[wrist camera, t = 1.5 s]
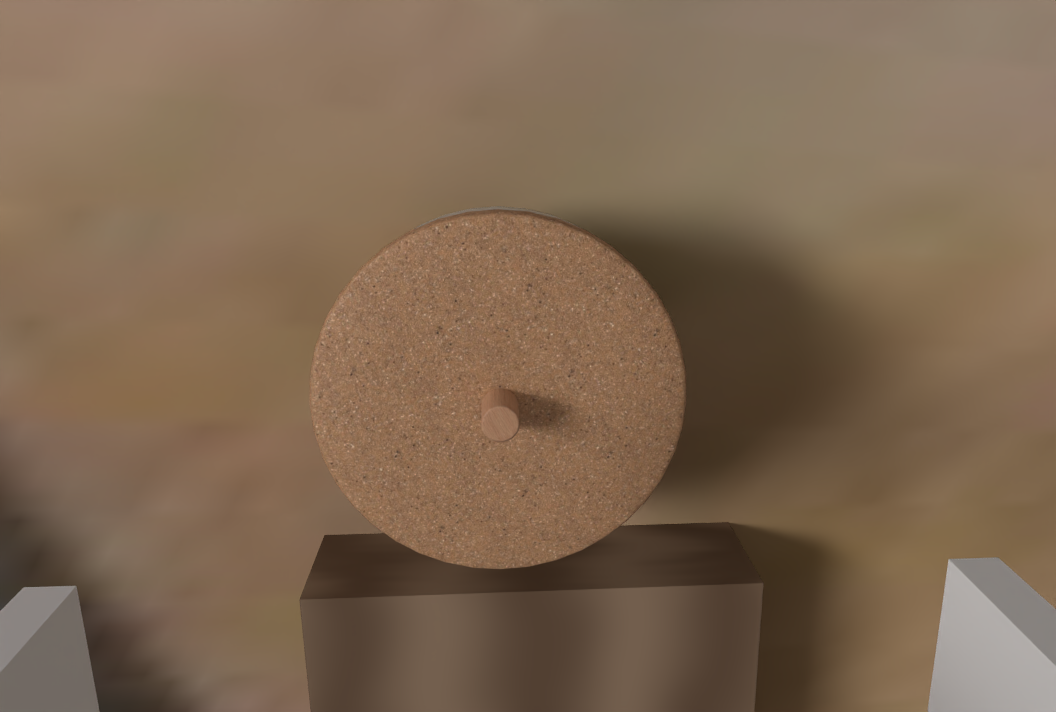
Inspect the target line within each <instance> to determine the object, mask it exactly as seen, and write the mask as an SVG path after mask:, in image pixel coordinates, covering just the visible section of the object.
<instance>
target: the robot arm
mask: <svg viewBox="0 0 1056 712" xmlns="http://www.w3.org/2000/svg"><path fill="white" fill-rule="evenodd" d="M0 712H99V707H98V701H97V696H96V690H95V685H94V679H93V674H92V669H91V663H90V658H89V652H88V647H87V641H86V636H85V631H84V625H83V620H82V614H81V609H80V603H79V598H78V593H77V587H76V586H57V587H25V588H23V589H22V590H21V591H20V592H19V593H18V594H17V595H16V596H15V597H14V598H13V599H12V600H11V601H10V602H9V603H8V604H7V605H6V606H5V607H4V608H3V609H2V610H1V611H0ZM928 712H1056V609H1055V608H1054V607H1053V606H1051V605H1050V604H1049V603H1048V602H1047V601H1046V600H1045V599H1044V598H1043V597H1041V596H1040V595H1039V594H1038V593H1037V592H1036V591H1035V590H1034V589H1033V588H1031V587H1030V586H1029V585H1028V584H1027V583H1026V582H1025V581H1024V580H1023V579H1021V578H1020V577H1019V576H1018V575H1017V574H1016V573H1015V572H1014V571H1013V570H1011V569H1010V568H1009V567H1008V566H1007V565H1006V564H1005V563H1004V562H1002V561H1001V560H1000V559H999V558H968V559H949V562H948V569H947V576H946V583H945V590H944V597H943V604H942V612H941V619H940V626H939V633H938V640H937V647H936V655H935V662H934V669H933V676H932V683H931V690H930V698H929V705H928Z"/></svg>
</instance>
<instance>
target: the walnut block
mask: <svg viewBox="0 0 1056 712" xmlns="http://www.w3.org/2000/svg"><path fill="white" fill-rule="evenodd" d="M762 597H763V581H762V580H761V578H760V576H759V575H758V573H757V571H756V569H755V568H754V566H753V564H752V563H751V561H750V559H749V557H748V556H747V554H746V552H745V550H744V549H743V547H742V545H741V544H740V542H739V540H738V538H737V537H736V535H735V533H734V532H733V530H732V528H731V526H730V525H729V523H728V522H722V523H691V524H660V525H628V526H619V527H618V528H617V529H615V530H614V531H613V532H611V533H610V534H609V535H607V536H606V537H605V538H603V539H601V540H599V541H597V542H596V543H594V544H592V545H590V546H589V547H587V548H585V549H583V550H581V551H579V552H576V553H574V554H571V555H568V556H566V557H563V558H561V559H558V560H555V561H551V562H547V563H543V564H538V565H534V566H530V567H520V568H509V569H488V568H472V567H467V566H462V565H456V564H451V563H446V562H443V561H440V560H437V559H434V558H432V557H429V556H426V555H423V554H420V553H418V552H416V551H414V550H412V549H410V548H408V547H406V546H404V545H402V544H401V543H399V542H397V541H395V540H393V539H392V538H391V537H389V536H388V535H386V534H385V533H380V534H348V535H324V538H323V541H322V543H321V546H320V548H319V551H318V554H317V556H316V559H315V561H314V564H313V566H312V569H311V572H310V574H309V577H308V579H307V582H306V585H305V587H304V590H303V592H302V595H301V597H300V609H301V619H302V629H303V639H304V649H305V659H306V669H307V679H308V689H309V699H310V709H311V712H754V709H755V695H756V681H757V667H758V653H759V639H760V625H761V611H762Z"/></svg>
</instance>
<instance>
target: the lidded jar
mask: <svg viewBox="0 0 1056 712" xmlns="http://www.w3.org/2000/svg"><path fill="white" fill-rule="evenodd" d="M686 400H687V398H686V370H685V365H684V359H683V354H682V349H681V344H680V341H679V339H678V336H677V333H676V330H675V328H674V325H673V322H672V320H671V317H670V315H669V314H668V312H667V310H666V308H665V307H664V305H663V303H662V301H661V300H660V298H659V296H658V295H657V293H656V291H655V290H654V289H653V288H652V286H651V285H650V284H649V283H648V282H647V280H646V279H645V278H644V277H643V275H642V274H641V273H640V272H639V271H638V269H637V268H636V267H635V266H634V265H633V264H632V263H630V262H629V261H628V260H627V259H626V258H625V257H624V256H622V255H621V254H620V253H619V252H618V251H617V250H616V249H614V248H613V247H612V246H611V245H609V244H608V243H606V242H604V241H603V240H601V239H599V238H598V237H596V236H595V235H593V234H591V233H590V232H588V231H587V230H584V229H582V228H580V227H579V226H577V225H575V224H572V223H570V222H568V221H565V220H563V219H561V218H558V217H556V216H553V215H550V214H546V213H542V212H538V211H534V210H530V209H526V208H514V207H501V206H495V207H483V208H471V209H466V210H462V211H458V212H454V213H450V214H446V215H443V216H440V217H438V218H436V219H433V220H431V221H429V222H426V223H424V224H421V225H419V226H417V227H416V228H414V229H413V230H411V231H409V232H407V233H406V234H404V235H403V236H401V237H399V238H398V239H396V240H395V241H393V242H391V243H390V244H388V245H387V246H385V247H384V248H383V249H381V250H380V251H379V252H378V253H377V254H376V255H375V256H374V257H372V258H371V259H370V260H369V261H368V262H367V263H366V264H364V265H363V266H362V267H361V268H360V269H359V271H358V272H357V273H356V274H355V276H354V277H353V278H352V279H351V280H350V282H349V283H348V284H347V285H346V287H345V288H344V289H343V290H342V292H341V293H340V295H339V296H338V298H337V300H336V302H335V303H334V305H333V307H332V309H331V310H330V312H329V314H328V316H327V317H326V319H325V322H324V324H323V327H322V330H321V333H320V335H319V338H318V341H317V344H316V346H315V351H314V357H313V362H312V368H311V373H310V408H311V414H312V421H313V427H314V432H315V435H316V438H317V441H318V444H319V447H320V450H321V454H322V457H323V459H324V461H325V463H326V465H327V467H328V468H329V470H330V472H331V474H332V476H333V478H334V480H335V482H336V483H337V485H338V486H339V487H340V489H341V490H342V491H343V493H344V494H345V495H346V497H347V498H348V500H349V501H350V502H351V504H352V505H353V506H354V507H355V508H356V509H357V510H358V511H359V512H360V513H361V514H362V515H363V516H364V517H365V518H366V519H367V520H368V521H369V522H370V523H371V524H373V525H374V526H375V527H377V528H378V529H380V530H381V531H382V532H384V533H385V534H386V535H388V536H389V537H391V538H392V539H393V540H395V541H397V542H399V543H401V544H402V545H404V546H406V547H408V548H410V549H412V550H414V551H416V552H418V553H420V554H423V555H426V556H429V557H432V558H434V559H437V560H440V561H443V562H446V563H451V564H456V565H462V566H467V567H472V568H488V569H509V568H520V567H530V566H534V565H538V564H543V563H547V562H551V561H555V560H558V559H561V558H563V557H566V556H568V555H571V554H574V553H576V552H579V551H581V550H583V549H585V548H587V547H589V546H590V545H592V544H594V543H596V542H597V541H599V540H601V539H603V538H605V537H606V536H607V535H609V534H610V533H611V532H613V531H614V530H615V529H617V528H618V527H619V526H620V525H622V524H623V523H624V522H626V521H627V520H628V519H629V518H630V517H631V516H632V515H633V514H634V513H635V512H636V511H637V510H638V509H639V508H640V507H641V505H642V504H643V503H644V502H645V501H646V500H647V499H648V497H649V496H650V495H651V493H652V492H653V490H654V489H655V488H656V486H657V485H658V483H659V482H660V480H661V479H662V478H663V476H664V473H665V471H666V469H667V467H668V465H669V463H670V461H671V459H672V457H673V455H674V453H675V450H676V447H677V444H678V440H679V437H680V434H681V431H682V428H683V421H684V414H685V407H686Z"/></svg>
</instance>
